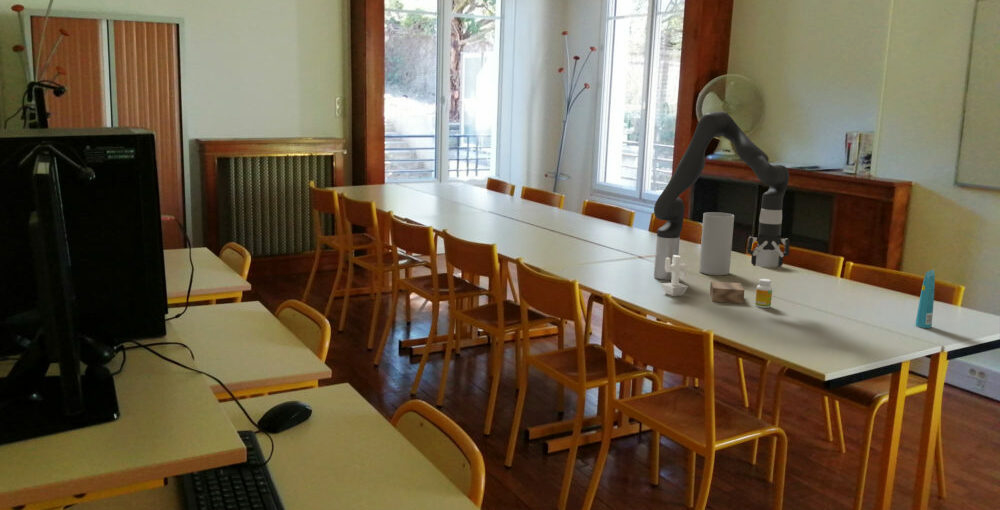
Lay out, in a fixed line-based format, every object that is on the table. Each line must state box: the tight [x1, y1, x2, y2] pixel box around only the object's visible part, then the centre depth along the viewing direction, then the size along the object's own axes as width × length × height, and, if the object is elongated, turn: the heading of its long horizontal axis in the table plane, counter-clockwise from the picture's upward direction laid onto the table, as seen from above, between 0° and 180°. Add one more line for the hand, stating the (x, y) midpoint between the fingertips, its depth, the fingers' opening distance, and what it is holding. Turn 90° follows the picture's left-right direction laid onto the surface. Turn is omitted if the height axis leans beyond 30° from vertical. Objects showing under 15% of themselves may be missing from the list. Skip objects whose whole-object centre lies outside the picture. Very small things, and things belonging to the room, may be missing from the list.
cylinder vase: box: [698, 211, 735, 277], centre depth 351 cm, size 12×12×25 cm
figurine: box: [661, 255, 689, 297], centre depth 313 cm, size 7×9×15 cm
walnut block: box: [709, 281, 745, 304], centre depth 309 cm, size 11×11×5 cm
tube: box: [915, 269, 936, 329], centre depth 277 cm, size 7×5×19 cm, turn 140°
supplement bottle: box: [754, 278, 773, 309], centre depth 299 cm, size 5×5×10 cm
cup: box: [756, 243, 780, 269], centre depth 370 cm, size 9×9×12 cm
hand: (766, 266), depth 297 cm, fingers open, 8 cm apart
